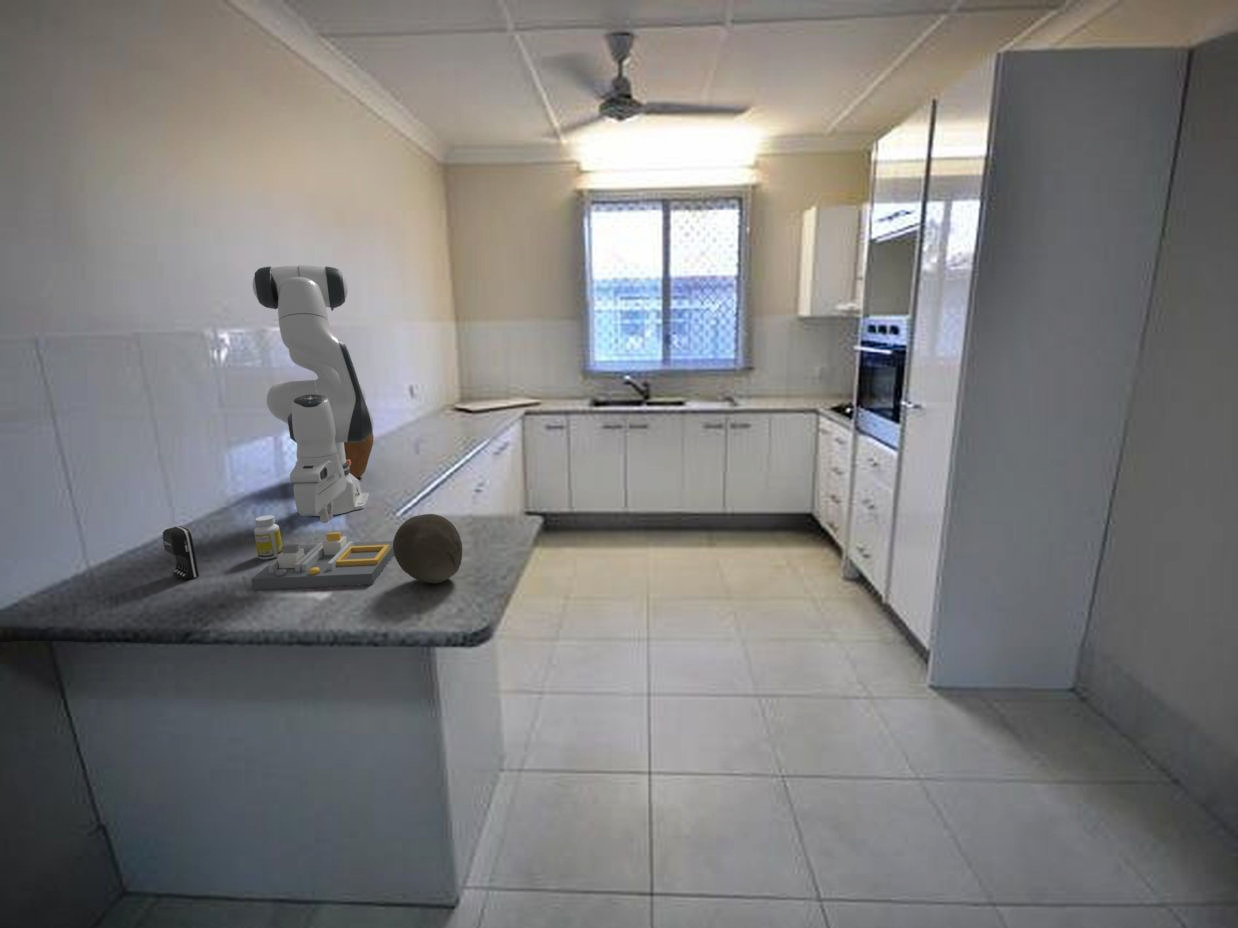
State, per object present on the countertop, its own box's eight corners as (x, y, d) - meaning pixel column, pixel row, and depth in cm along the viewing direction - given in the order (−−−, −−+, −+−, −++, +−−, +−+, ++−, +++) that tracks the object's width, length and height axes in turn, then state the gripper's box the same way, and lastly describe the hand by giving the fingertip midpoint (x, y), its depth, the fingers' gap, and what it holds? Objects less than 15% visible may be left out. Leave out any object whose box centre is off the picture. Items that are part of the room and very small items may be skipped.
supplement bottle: (277, 550, 156) (271, 512, 154) (287, 554, 153) (281, 516, 151) (254, 556, 152) (248, 518, 150) (263, 561, 149) (257, 522, 147)
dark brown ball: (460, 564, 145) (455, 503, 141) (469, 588, 132) (463, 521, 128) (396, 574, 140) (389, 510, 136) (398, 600, 127) (391, 531, 124)
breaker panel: (294, 554, 153) (291, 538, 152) (398, 550, 155) (396, 534, 154) (253, 589, 134) (250, 571, 133) (372, 584, 135) (370, 566, 134)
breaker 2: (330, 548, 149) (328, 530, 148) (347, 548, 149) (345, 529, 148) (324, 555, 145) (321, 536, 144) (341, 554, 145) (339, 535, 144)
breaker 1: (287, 561, 142) (284, 542, 141) (305, 560, 142) (302, 541, 141) (279, 568, 138) (276, 548, 137) (297, 567, 138) (294, 548, 137)
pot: (389, 471, 234) (381, 391, 227) (357, 488, 211) (346, 400, 204) (328, 470, 237) (318, 391, 230) (290, 488, 213) (277, 400, 206)
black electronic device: (168, 576, 142) (158, 528, 139) (187, 570, 145) (178, 523, 142) (181, 583, 138) (171, 534, 135) (200, 577, 141) (191, 529, 138)
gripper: (323, 454, 156) (330, 507, 159) (285, 477, 136) (294, 536, 140) (349, 454, 156) (355, 506, 160) (315, 477, 136) (323, 536, 140)
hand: (326, 520), depth 150 cm, fingers closed
